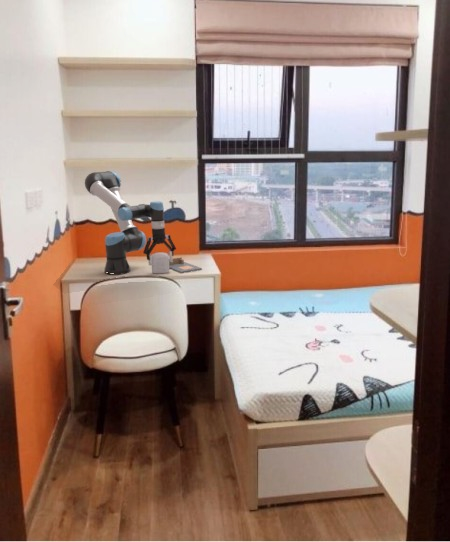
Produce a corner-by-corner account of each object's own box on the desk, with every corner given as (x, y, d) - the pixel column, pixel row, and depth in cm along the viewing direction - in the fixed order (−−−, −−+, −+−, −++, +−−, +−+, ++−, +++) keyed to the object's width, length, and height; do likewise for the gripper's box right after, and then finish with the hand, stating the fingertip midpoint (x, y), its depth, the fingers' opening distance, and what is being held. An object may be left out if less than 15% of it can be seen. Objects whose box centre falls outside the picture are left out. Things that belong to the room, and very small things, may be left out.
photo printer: (169, 271, 314) (168, 251, 311) (169, 273, 310) (168, 252, 307) (152, 272, 313) (151, 252, 310) (152, 274, 309) (150, 253, 306)
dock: (181, 273, 309) (180, 265, 308) (165, 266, 327) (164, 259, 326) (201, 269, 316) (201, 262, 315) (184, 263, 334) (184, 256, 333)
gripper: (141, 231, 296) (144, 267, 301) (180, 226, 309) (182, 261, 313) (135, 229, 302) (138, 265, 307) (174, 225, 315) (176, 259, 320)
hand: (160, 263), depth 310 cm, fingers open, 13 cm apart
